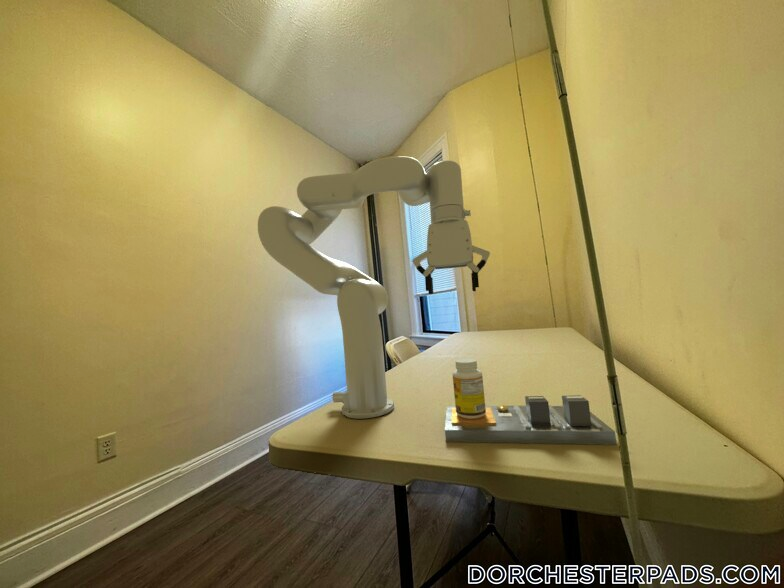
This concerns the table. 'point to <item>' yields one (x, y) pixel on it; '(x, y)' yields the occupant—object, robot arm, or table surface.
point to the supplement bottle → (468, 389)
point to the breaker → (576, 410)
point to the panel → (525, 426)
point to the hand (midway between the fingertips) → (452, 292)
